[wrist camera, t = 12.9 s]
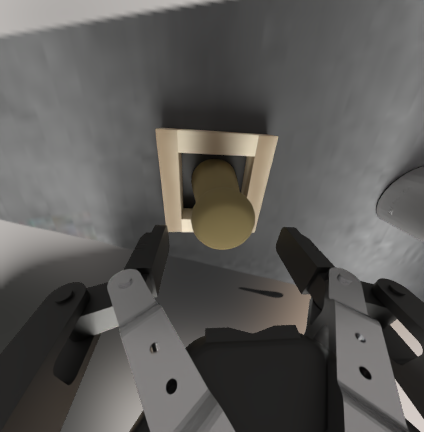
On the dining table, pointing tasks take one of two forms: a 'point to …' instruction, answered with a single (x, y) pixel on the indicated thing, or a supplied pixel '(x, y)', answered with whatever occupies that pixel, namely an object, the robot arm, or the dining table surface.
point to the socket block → (219, 145)
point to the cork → (220, 206)
